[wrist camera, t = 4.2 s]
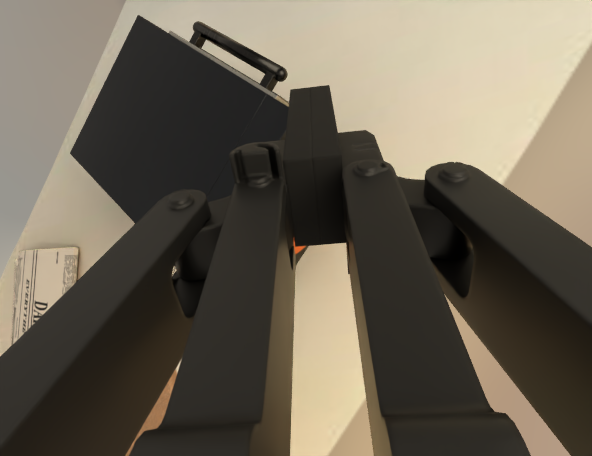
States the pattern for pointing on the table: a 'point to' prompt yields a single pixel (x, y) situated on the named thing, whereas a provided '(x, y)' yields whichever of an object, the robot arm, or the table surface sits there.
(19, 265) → the newspaper
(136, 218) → the box
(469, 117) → the table surface
